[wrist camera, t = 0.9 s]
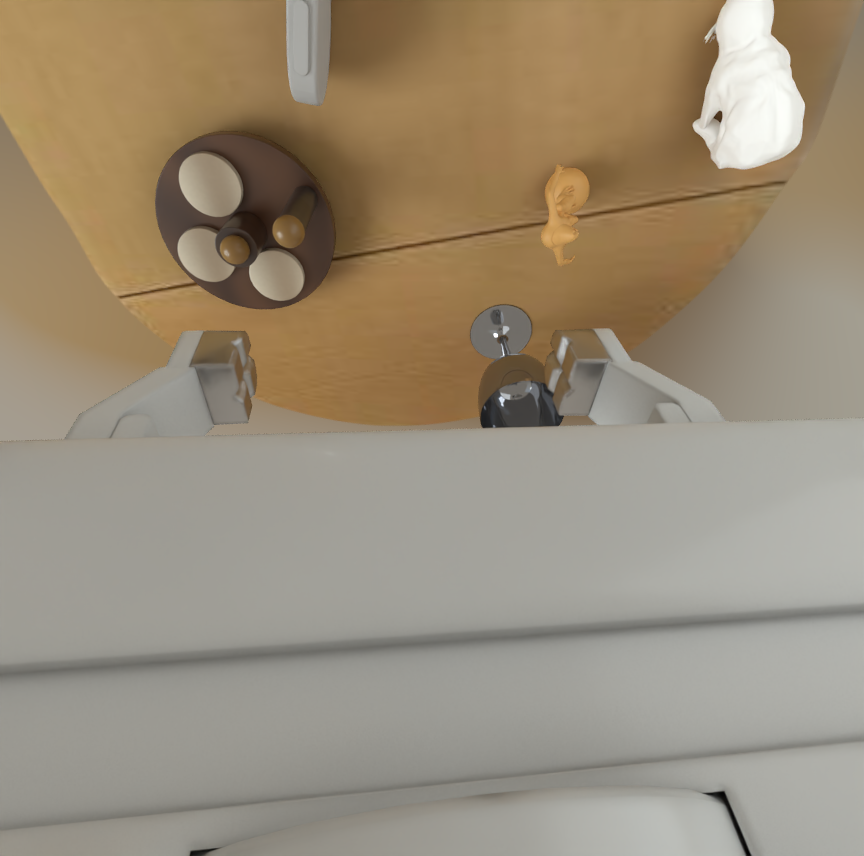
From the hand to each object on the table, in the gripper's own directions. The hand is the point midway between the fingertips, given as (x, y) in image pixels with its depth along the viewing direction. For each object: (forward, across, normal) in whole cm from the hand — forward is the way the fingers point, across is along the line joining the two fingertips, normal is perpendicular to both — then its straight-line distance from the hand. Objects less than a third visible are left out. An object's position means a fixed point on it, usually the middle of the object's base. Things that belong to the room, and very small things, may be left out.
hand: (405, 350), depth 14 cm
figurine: (+38, -16, +8) cm, 43 cm away
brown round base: (+38, +12, +12) cm, 42 cm away
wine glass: (+38, -14, +24) cm, 47 cm away
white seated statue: (+38, -30, -2) cm, 48 cm away
